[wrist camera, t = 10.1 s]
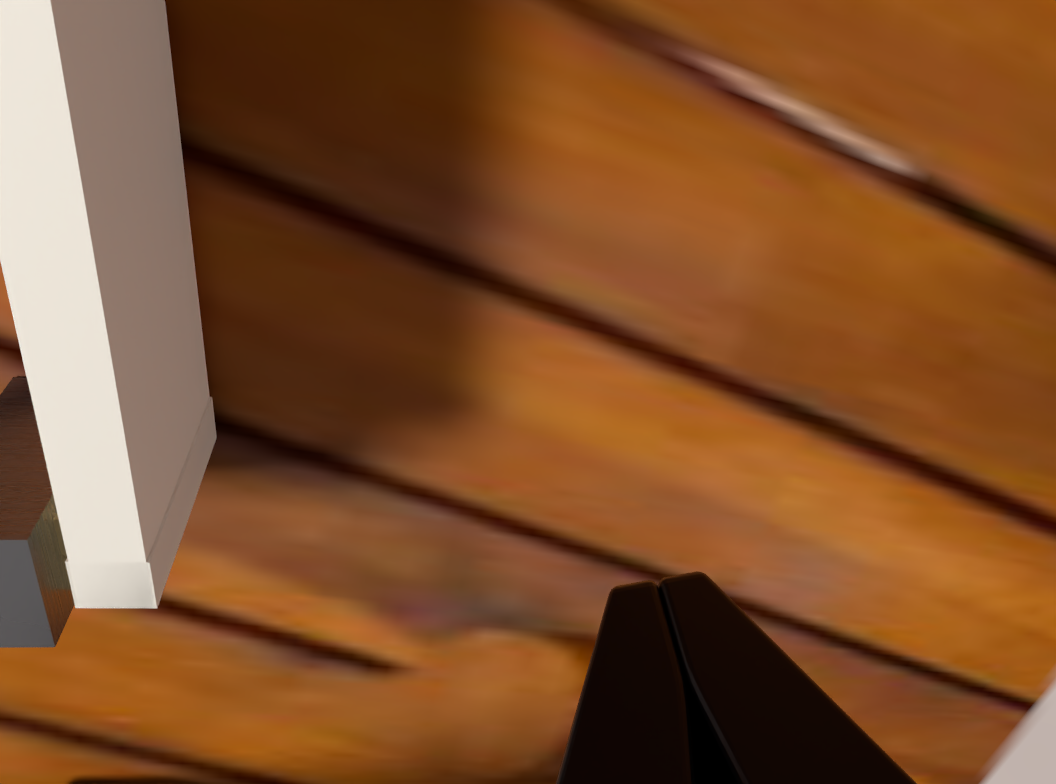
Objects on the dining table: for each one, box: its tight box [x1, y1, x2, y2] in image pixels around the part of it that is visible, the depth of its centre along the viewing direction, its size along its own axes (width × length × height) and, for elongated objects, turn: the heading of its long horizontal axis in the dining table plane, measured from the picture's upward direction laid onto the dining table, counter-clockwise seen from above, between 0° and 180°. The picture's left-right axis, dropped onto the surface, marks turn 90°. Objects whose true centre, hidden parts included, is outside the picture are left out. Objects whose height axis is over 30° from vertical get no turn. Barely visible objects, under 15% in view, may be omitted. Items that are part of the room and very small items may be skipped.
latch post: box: [0, 377, 74, 647], centre depth 18 cm, size 2×2×5 cm
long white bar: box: [0, 0, 217, 608], centre depth 15 cm, size 12×1×5 cm, turn 176°
